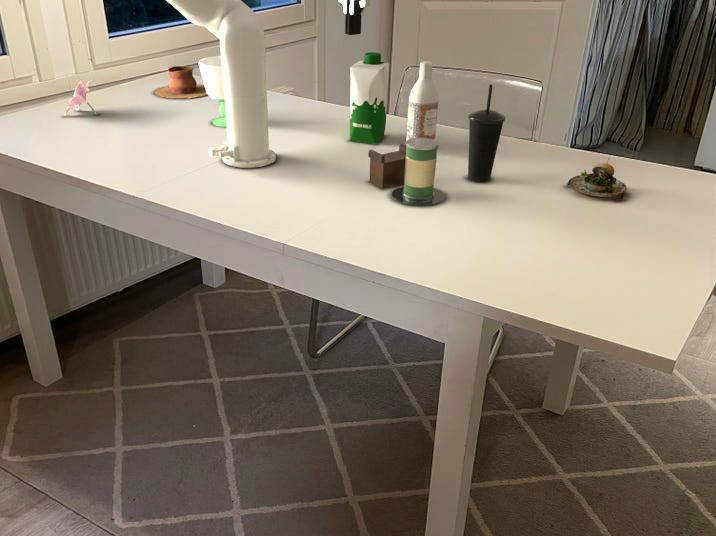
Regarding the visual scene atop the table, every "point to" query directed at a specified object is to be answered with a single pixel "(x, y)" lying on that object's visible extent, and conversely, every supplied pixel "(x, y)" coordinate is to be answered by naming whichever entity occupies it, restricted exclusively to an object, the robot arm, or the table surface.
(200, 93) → the ceramic pot
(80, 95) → the lily
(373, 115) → the milk carton
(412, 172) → the can
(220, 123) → the cup
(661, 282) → the table surface
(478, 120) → the drinking cup
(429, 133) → the bath foam
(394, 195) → the coaster
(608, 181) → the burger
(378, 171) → the rest
